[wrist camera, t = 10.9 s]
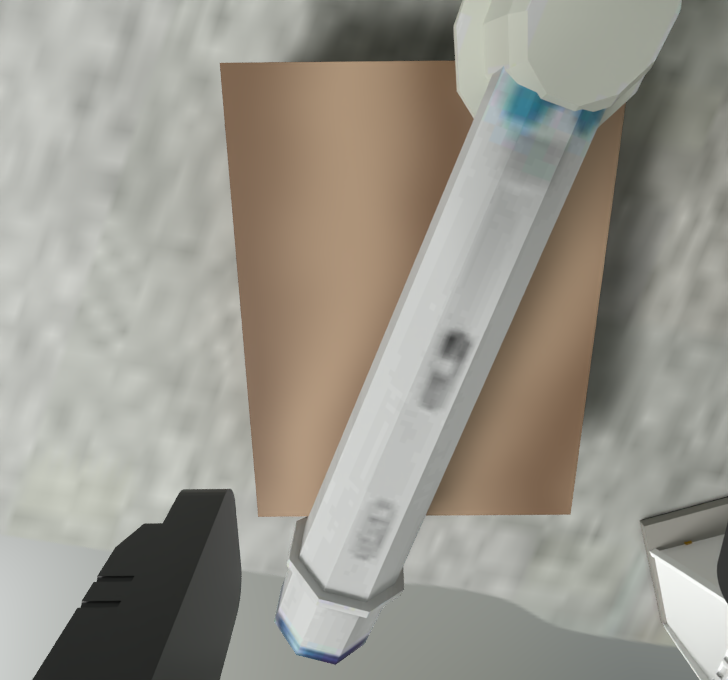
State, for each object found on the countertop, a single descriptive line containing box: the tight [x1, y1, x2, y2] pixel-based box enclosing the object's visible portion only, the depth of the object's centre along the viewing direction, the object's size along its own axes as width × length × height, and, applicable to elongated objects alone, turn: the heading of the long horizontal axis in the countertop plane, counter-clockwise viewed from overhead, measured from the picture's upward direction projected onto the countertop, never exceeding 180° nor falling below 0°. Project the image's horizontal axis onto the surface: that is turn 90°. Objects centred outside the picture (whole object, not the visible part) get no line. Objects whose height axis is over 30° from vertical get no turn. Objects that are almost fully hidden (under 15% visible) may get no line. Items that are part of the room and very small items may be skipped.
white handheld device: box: [274, 0, 682, 664], centre depth 17 cm, size 5×7×25 cm
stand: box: [220, 61, 626, 517], centre depth 21 cm, size 13×17×4 cm
